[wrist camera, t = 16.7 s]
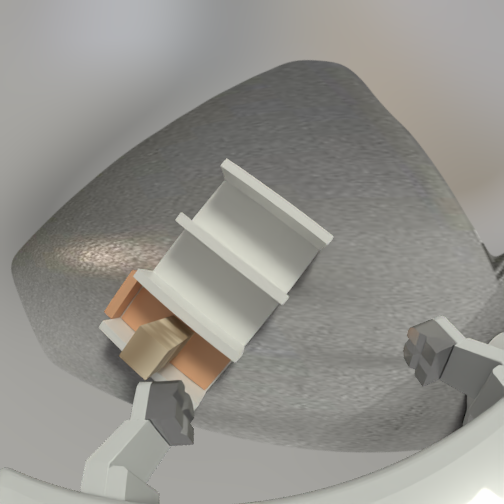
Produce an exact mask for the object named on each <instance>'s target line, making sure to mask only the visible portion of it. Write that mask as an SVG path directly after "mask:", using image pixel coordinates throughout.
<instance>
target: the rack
mask: <svg viewBox="0 0 504 504" xmlns="http://www.w3.org/2000/svg"><path fill="white" fill-rule="evenodd" d="M221 169H222V172H223V175H224V178H225V181H224V182H223V183H222V184H221V186H220V187H219V188H218V189H217V190H216V191H215V193H214V194H213V195H212V196H211V197H210V199H209V200H208V201H207V202H206V204H205V205H204V206H203V207H202V208H201V210H200V211H199V212H198V213H197V215H196V216H195V217H194V218H193V220H191V219H189V218H188V217H187V216H186V215H184V214H183V213H182V212H181V213H180V215H179V216H178V217H177V218H176V220H175V221H177V222H178V223H179V224H180V225H182V226H183V227H184V228H185V230H184V231H183V232H182V233H181V235H180V236H179V237H178V239H177V240H176V241H175V242H174V244H173V245H172V246H171V248H170V249H169V250H168V252H167V253H166V254H165V256H164V257H163V258H162V260H161V261H160V262H159V264H158V265H157V266H156V268H155V269H154V270H153V271H151V270H144V269H138V270H132V271H131V273H130V274H129V276H128V277H127V278H126V280H125V281H124V283H123V284H122V286H121V287H120V289H119V290H118V292H117V293H116V295H115V296H114V298H113V299H112V301H111V302H110V304H109V305H108V307H107V308H106V310H105V311H104V312H105V313H106V314H107V315H108V316H109V317H110V318H111V319H109V320H104V321H102V323H101V325H100V326H99V328H100V329H101V330H102V331H103V332H104V334H105V335H106V336H107V337H108V338H109V339H110V340H111V341H112V342H113V343H114V344H115V345H116V346H117V347H118V348H119V349H120V350H121V351H122V350H123V349H124V348H125V346H126V345H127V343H128V342H129V340H130V339H131V338H132V336H133V335H134V333H135V332H136V331H137V329H138V328H139V326H141V325H144V324H147V323H150V322H154V321H157V320H160V319H163V318H166V317H170V316H173V315H174V316H175V317H176V318H177V319H179V320H180V321H181V322H182V323H183V324H184V325H186V326H187V327H188V328H189V329H190V330H192V331H193V332H194V335H193V336H192V337H191V338H190V340H189V341H188V342H187V343H186V345H185V346H184V347H183V348H182V350H181V351H180V352H179V354H178V355H177V356H176V357H175V358H173V359H172V360H171V361H170V362H168V363H167V364H166V365H165V366H163V367H162V368H161V369H160V370H158V371H157V372H156V373H154V374H153V375H152V376H151V378H152V379H153V380H155V381H172V380H182V382H183V384H184V385H185V392H186V393H188V394H189V395H190V397H191V400H192V403H193V409H194V410H195V409H196V408H197V407H198V405H199V404H200V402H201V400H202V398H203V397H204V395H205V393H206V391H207V390H208V389H209V388H210V387H211V385H212V384H213V383H214V382H215V381H216V380H217V379H218V377H219V376H220V375H221V374H222V373H223V372H224V370H225V369H226V368H227V367H228V366H229V365H230V363H231V362H232V361H233V362H235V363H236V362H237V361H238V360H239V358H240V357H241V356H242V354H243V351H244V347H245V345H246V344H247V343H248V342H249V341H250V339H251V338H252V337H253V336H254V334H255V333H256V332H257V331H258V330H259V328H260V327H261V326H262V325H263V323H264V322H265V321H266V320H267V318H268V317H269V316H270V315H271V313H272V312H273V311H274V309H275V308H276V307H277V306H278V304H279V303H280V304H282V305H283V304H284V303H285V302H286V300H287V299H288V298H289V296H288V295H287V293H288V292H289V290H290V289H291V288H292V286H293V285H294V284H295V282H296V281H297V280H298V278H299V277H300V276H301V274H302V273H303V272H304V270H305V269H306V268H307V266H308V265H309V264H310V262H311V261H312V260H313V258H314V257H315V256H316V254H317V253H318V252H319V250H321V249H322V248H324V247H325V246H327V245H328V244H329V243H330V241H331V240H332V238H333V237H334V236H332V235H331V234H330V233H329V232H327V231H326V230H325V229H323V228H322V227H321V226H320V225H318V224H317V223H316V222H314V221H313V220H312V219H310V218H309V217H308V216H306V215H305V214H304V213H302V212H301V211H300V210H298V209H297V208H296V207H294V206H293V205H292V204H290V203H289V202H288V201H286V200H285V199H284V198H282V197H281V196H280V195H278V194H277V193H275V192H274V191H273V190H271V189H270V188H268V187H267V186H266V185H264V184H263V183H261V182H260V181H259V180H257V179H256V178H254V177H253V176H252V175H250V174H249V173H247V172H246V171H244V170H243V169H241V168H240V167H239V166H237V165H236V164H234V163H233V162H231V161H230V160H228V159H226V160H225V161H224V162H223V163H222V164H221Z"/></svg>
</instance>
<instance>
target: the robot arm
mask: <svg viewBox="0 0 504 504" xmlns="http://www.w3.org/2000/svg"><path fill="white" fill-rule="evenodd" d="M407 336H408V338H409V340H408V341H407V342H406V343H405V345H404V350H403V353H404V359H405V361H406V363H407V365H408V366H409V367H410V368H413V369H415V376H416V378H417V379H418V381H419V382H420V383H421V385H422V386H425V385H428V384H430V383H432V382H434V381H436V380H438V379H440V380H441V381H442V382H444V383H446V384H448V385H450V386H451V387H453V388H455V389H457V390H458V391H460V392H462V393H464V394H466V395H467V411H466V414H465V417H464V421H463V427H461V428H460V429H458V430H456V431H455V432H453V433H451V434H450V435H448V436H447V437H445V438H443V439H441V440H440V441H438V442H436V443H434V444H433V445H431V446H429V447H427V448H425V449H423V450H421V451H419V452H417V453H415V454H413V455H411V456H409V457H407V458H405V459H403V460H401V461H399V462H396V463H394V464H392V465H389V466H387V467H385V468H383V469H380V470H377V471H375V472H372V473H369V474H367V475H364V476H361V477H359V478H356V479H353V480H350V481H347V482H343V483H340V484H337V485H334V486H331V487H327V488H323V489H320V490H315V491H311V492H307V493H303V494H299V495H294V496H289V497H283V498H278V499H272V500H266V501H258V502H250V503H241V504H504V332H503V333H500V334H499V335H497V336H496V337H494V338H493V339H492V340H491V341H490V342H489V344H485V343H482V342H479V341H476V340H473V339H470V338H468V339H466V338H465V337H464V336H463V335H462V334H461V333H460V332H459V331H458V330H457V329H456V328H455V327H454V326H453V325H452V324H451V323H450V322H449V321H448V320H447V319H446V318H445V317H444V316H438V317H436V318H434V319H431V320H428V321H426V322H423V323H421V324H418V325H416V326H413V327H411V328H410V329H409V330H408V334H407ZM193 419H194V409H193V403H192V400H191V397H190V395H189V394H188V393H186V392H185V385H184V384H183V382H182V380H172V381H153V382H139V384H138V385H137V387H136V392H135V397H134V401H133V406H132V411H131V416H130V420H125V421H124V422H123V423H122V424H121V426H119V428H118V429H117V430H116V431H115V432H114V433H113V434H112V435H111V436H110V437H109V438H108V439H107V440H106V441H105V442H104V443H103V444H102V445H101V446H100V447H99V448H98V449H97V450H96V451H95V452H94V453H93V454H92V455H91V456H90V457H89V458H88V459H87V460H86V464H85V468H84V473H83V478H82V483H81V489H80V492H78V491H73V490H70V489H67V488H63V487H59V486H57V485H53V484H50V483H47V482H44V481H41V480H38V479H36V478H33V477H31V476H28V475H25V474H23V473H21V472H18V471H16V470H13V469H11V468H6V467H5V468H2V469H0V504H159V493H158V492H157V491H156V490H155V489H153V488H152V487H151V486H149V485H148V484H146V483H147V481H148V480H149V478H150V477H151V475H152V474H153V472H154V471H155V469H156V468H157V466H158V465H159V464H160V462H161V461H162V459H163V458H164V456H165V455H166V453H167V452H168V450H169V449H170V446H177V445H191V444H194V442H193V441H194V428H193V427H192V425H191V424H190V423H191V421H192V420H193Z"/></svg>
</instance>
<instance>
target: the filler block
mask: <svg viewBox="0 0 504 504" xmlns="http://www.w3.org/2000/svg"><path fill="white" fill-rule="evenodd" d="M193 335H194V332H193V331H192V330H190V329H189V328H188V327H187V326H186V325H184V324H183V323H182V322H181V321H180V320H179V319H177V318H176V317H175V316H174V315H173V316H170V317H166V318H163V319H160V320H157V321H154V322H150V323H147V324H144V325H141V326H139V328H138V329H137V331H136V332H135V333H134V335H133V336H132V338H131V339H130V340H129V342H128V343H127V345H126V346H125V348H124V349H123V350H122V352H121V353H120V355H119V357H120V358H121V359H123V360H124V361H125V362H126V363H127V364H128V365H129V366H130V367H131V368H132V369H133V370H134V371H135V372H137V373H138V374H139V375H140V376H141V377H142V378H143V379H144V380H147V379H148V378H149V377H151V376H152V375H153V374H154V373H156V372H157V371H158V370H160V369H161V368H162V367H163V366H165V365H166V364H167V363H168V362H170V361H171V360H172V359H173V358H175V357H176V356H177V355H178V354H179V352H180V351H181V350H182V348H183V347H184V346H185V345H186V343H187V342H188V341H189V340H190V338H191V337H192V336H193Z"/></svg>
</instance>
